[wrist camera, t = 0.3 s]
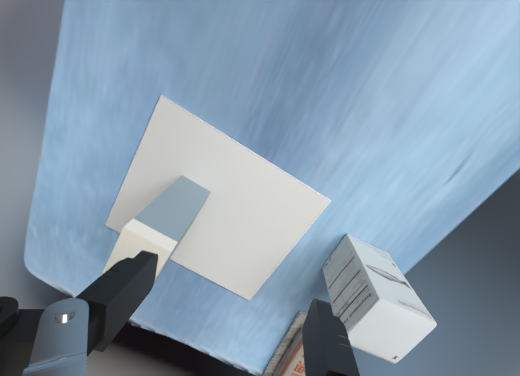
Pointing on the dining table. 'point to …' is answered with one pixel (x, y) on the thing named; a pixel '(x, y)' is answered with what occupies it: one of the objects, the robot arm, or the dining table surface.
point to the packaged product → (289, 352)
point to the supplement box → (375, 300)
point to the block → (161, 224)
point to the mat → (219, 199)
